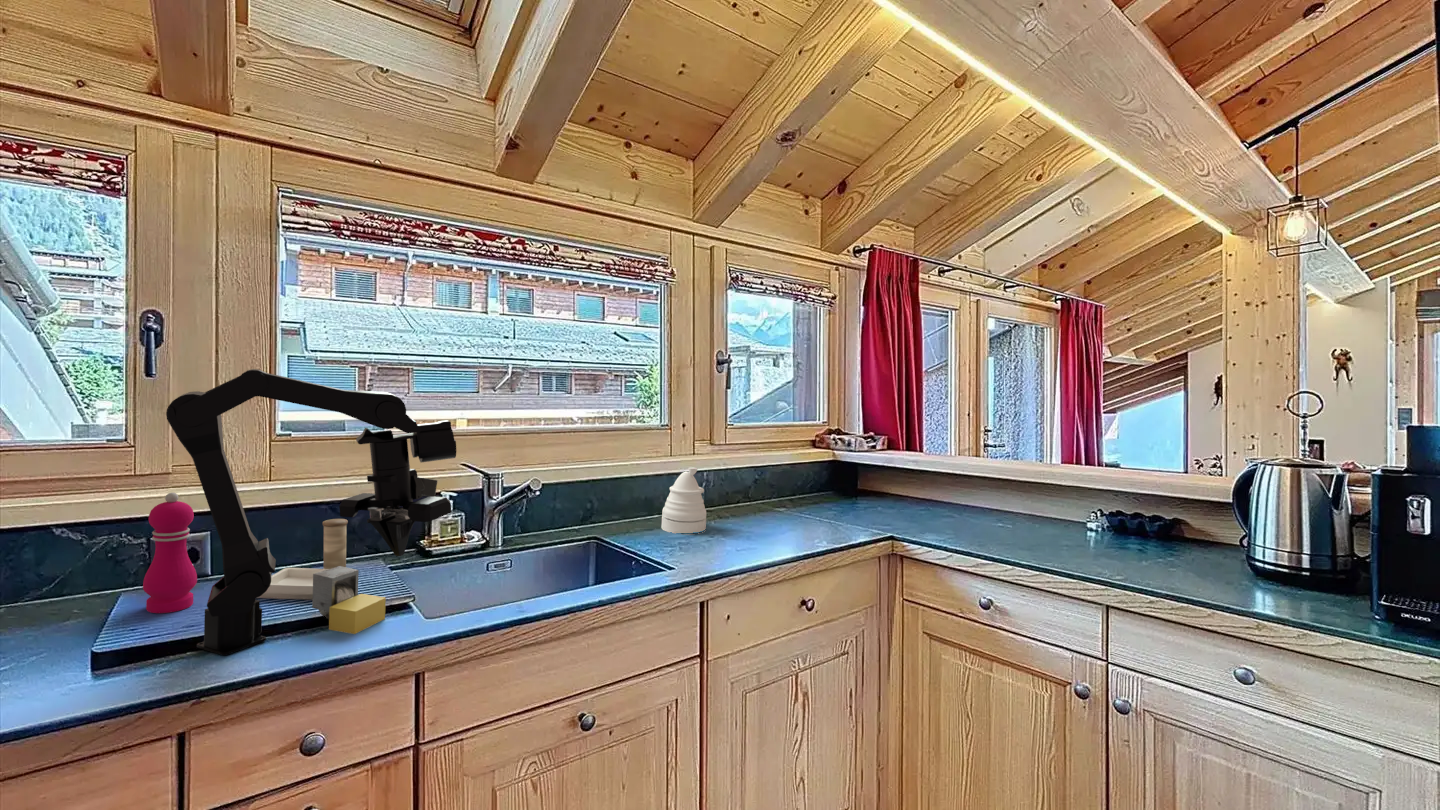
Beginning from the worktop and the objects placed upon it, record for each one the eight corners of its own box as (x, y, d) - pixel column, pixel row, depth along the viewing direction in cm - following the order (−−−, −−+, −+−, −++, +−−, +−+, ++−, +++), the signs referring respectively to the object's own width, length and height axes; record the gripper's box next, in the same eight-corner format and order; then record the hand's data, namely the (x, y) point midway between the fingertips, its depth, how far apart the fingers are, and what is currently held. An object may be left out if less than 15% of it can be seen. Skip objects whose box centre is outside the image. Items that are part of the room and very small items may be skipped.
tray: (325, 599, 123) (325, 586, 123) (255, 598, 122) (256, 584, 121) (349, 581, 133) (350, 569, 133) (285, 580, 132) (285, 567, 131)
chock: (354, 635, 109) (355, 611, 109) (328, 630, 110) (329, 607, 110) (384, 620, 116) (385, 597, 116) (360, 615, 117) (361, 593, 117)
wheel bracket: (334, 625, 112) (335, 579, 112) (308, 618, 114) (309, 573, 114) (360, 614, 117) (362, 570, 117) (335, 608, 119) (336, 565, 119)
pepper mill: (166, 617, 111) (167, 498, 110) (131, 611, 112) (132, 494, 111) (207, 602, 118) (209, 491, 117) (174, 597, 120) (175, 487, 118)
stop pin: (332, 579, 134) (333, 525, 133) (317, 575, 135) (317, 522, 134) (352, 572, 138) (352, 520, 137) (336, 569, 139) (337, 517, 139)
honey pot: (714, 528, 195) (718, 468, 194) (688, 536, 184) (692, 472, 183) (678, 521, 202) (682, 462, 201) (652, 528, 191) (655, 466, 190)
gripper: (468, 458, 118) (475, 543, 120) (383, 455, 123) (391, 537, 125) (423, 472, 107) (432, 565, 109) (332, 469, 113) (342, 557, 115)
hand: (399, 555), depth 115 cm, fingers closed
